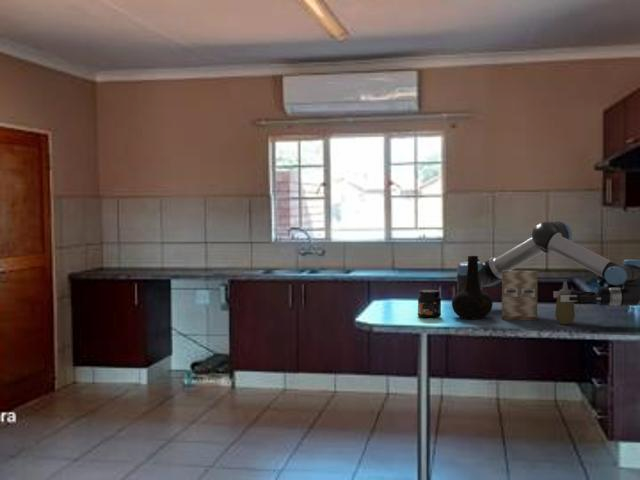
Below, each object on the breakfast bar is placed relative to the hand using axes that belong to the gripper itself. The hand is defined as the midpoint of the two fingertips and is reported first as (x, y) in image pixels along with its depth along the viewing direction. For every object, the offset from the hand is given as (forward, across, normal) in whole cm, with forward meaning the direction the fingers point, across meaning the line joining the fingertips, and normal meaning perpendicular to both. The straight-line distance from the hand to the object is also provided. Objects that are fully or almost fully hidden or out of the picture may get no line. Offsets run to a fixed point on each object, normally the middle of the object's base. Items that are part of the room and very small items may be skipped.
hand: (557, 296), depth 321 cm
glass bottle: (+34, +14, -12) cm, 39 cm away
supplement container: (+53, +16, -12) cm, 57 cm away
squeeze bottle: (-3, 0, -12) cm, 12 cm away
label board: (+14, +12, -12) cm, 21 cm away
